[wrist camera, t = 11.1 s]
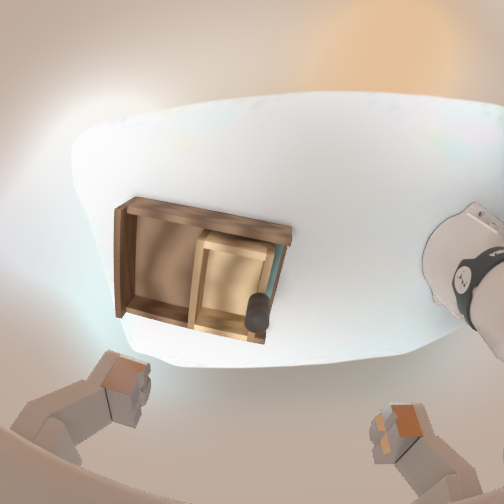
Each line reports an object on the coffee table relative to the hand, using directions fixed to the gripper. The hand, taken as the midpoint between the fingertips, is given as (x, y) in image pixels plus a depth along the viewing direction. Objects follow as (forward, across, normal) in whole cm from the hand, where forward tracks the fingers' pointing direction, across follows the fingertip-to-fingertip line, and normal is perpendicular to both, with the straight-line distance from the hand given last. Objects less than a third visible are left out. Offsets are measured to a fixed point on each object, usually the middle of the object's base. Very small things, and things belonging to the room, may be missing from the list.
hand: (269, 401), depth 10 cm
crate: (+36, +4, +15) cm, 39 cm away
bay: (+37, +9, +15) cm, 41 cm away
